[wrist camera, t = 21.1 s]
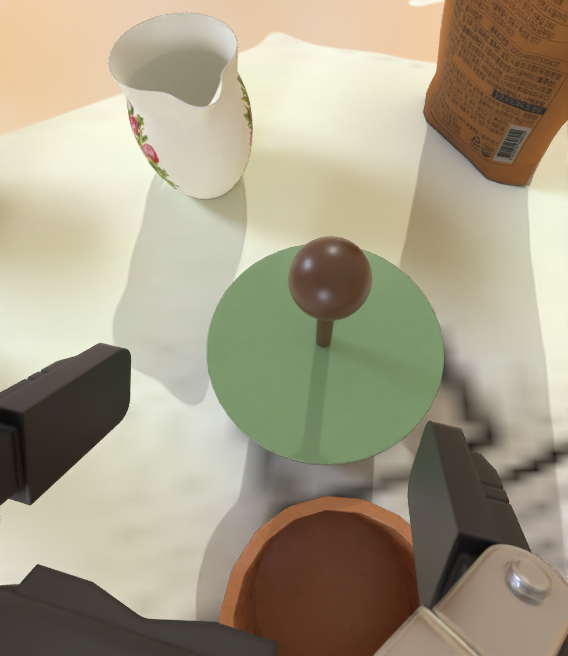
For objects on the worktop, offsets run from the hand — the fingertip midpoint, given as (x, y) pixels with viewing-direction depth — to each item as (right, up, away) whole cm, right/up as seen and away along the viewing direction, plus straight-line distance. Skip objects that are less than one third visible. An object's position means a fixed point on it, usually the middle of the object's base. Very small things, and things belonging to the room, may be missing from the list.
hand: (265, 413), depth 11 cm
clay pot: (+4, -16, +18) cm, 24 cm away
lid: (+3, +1, +14) cm, 14 cm away
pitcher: (-8, +19, +34) cm, 40 cm away
